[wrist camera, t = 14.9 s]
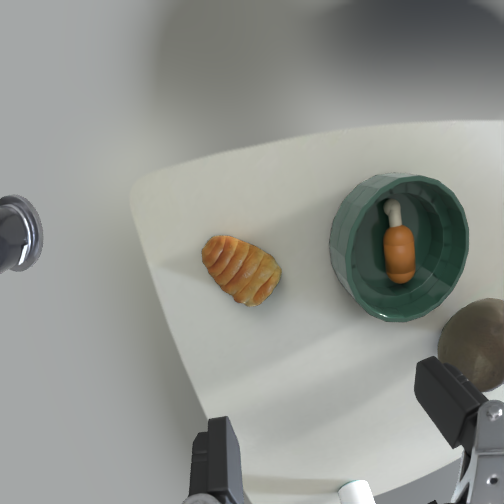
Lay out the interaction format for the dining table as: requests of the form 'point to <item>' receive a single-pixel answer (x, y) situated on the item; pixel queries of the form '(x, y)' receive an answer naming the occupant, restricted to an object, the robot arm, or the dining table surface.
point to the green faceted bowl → (425, 241)
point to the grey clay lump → (476, 343)
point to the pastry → (241, 269)
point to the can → (356, 493)
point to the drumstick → (398, 245)
